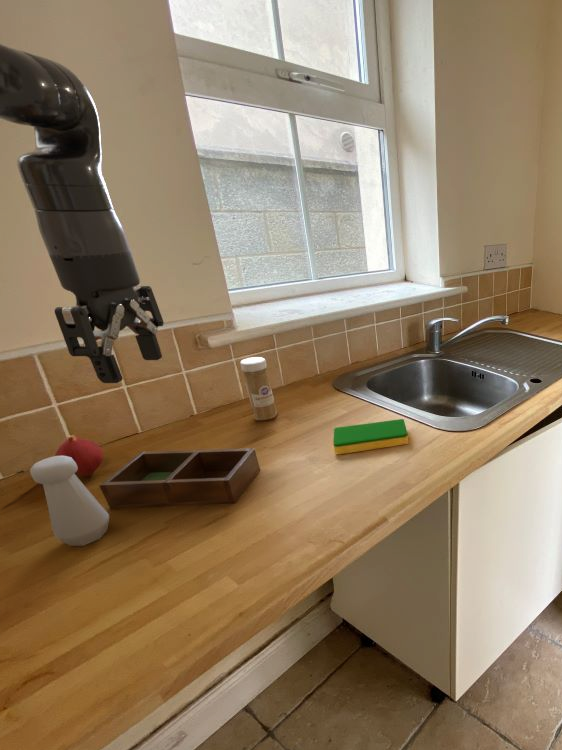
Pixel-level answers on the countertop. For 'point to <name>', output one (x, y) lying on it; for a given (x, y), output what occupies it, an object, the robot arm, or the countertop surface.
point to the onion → (82, 454)
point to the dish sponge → (370, 436)
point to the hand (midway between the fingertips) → (134, 370)
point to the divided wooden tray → (181, 478)
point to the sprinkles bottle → (259, 388)
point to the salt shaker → (70, 502)
